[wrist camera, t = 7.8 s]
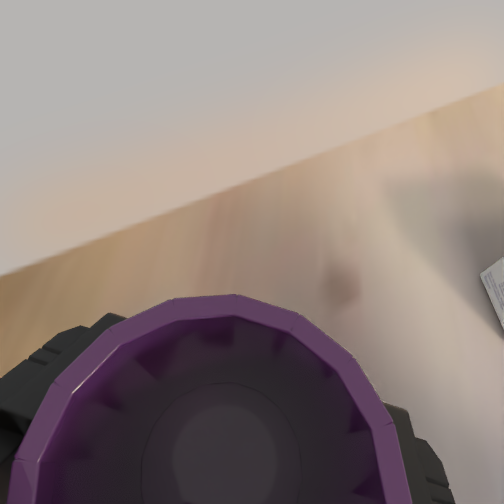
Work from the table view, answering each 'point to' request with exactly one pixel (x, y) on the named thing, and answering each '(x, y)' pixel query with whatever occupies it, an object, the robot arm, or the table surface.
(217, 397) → the plum cup
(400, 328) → the table surface
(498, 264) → the medicine box
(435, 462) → the robot arm
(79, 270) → the table surface
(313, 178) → the table surface
